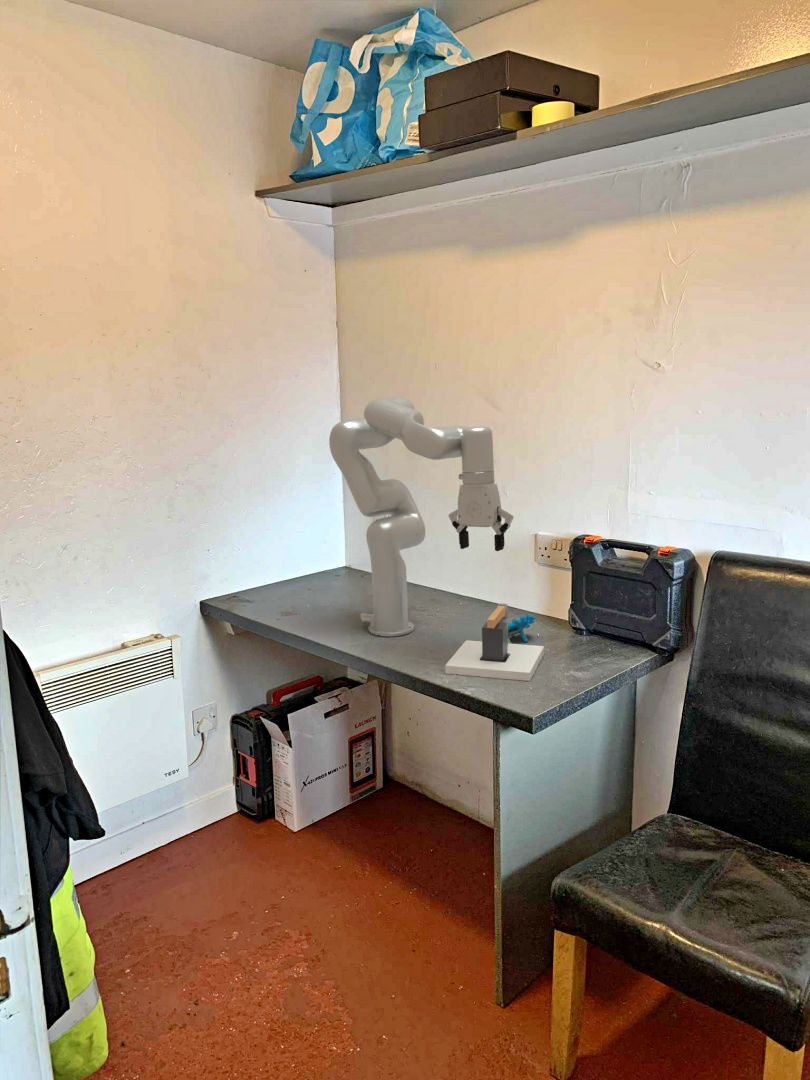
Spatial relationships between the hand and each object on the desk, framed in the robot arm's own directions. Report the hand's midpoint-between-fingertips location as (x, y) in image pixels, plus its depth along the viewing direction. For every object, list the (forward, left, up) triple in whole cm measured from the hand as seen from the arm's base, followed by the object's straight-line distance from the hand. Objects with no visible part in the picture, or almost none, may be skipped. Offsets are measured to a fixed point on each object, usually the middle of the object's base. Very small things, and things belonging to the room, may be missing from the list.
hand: (481, 549), depth 199 cm
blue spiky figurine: (+5, +14, -28) cm, 31 cm away
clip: (+4, -3, -18) cm, 18 cm away
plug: (+4, -6, -27) cm, 28 cm away
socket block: (+4, -5, -27) cm, 28 cm away
